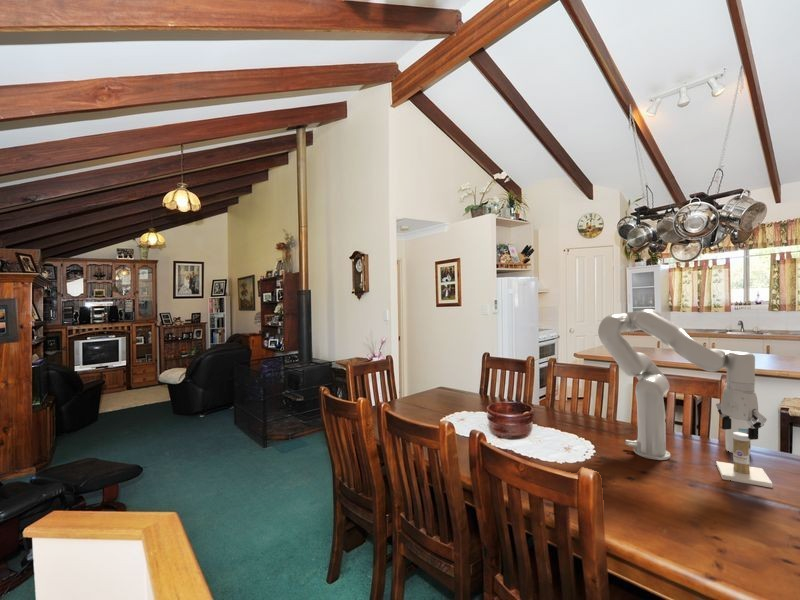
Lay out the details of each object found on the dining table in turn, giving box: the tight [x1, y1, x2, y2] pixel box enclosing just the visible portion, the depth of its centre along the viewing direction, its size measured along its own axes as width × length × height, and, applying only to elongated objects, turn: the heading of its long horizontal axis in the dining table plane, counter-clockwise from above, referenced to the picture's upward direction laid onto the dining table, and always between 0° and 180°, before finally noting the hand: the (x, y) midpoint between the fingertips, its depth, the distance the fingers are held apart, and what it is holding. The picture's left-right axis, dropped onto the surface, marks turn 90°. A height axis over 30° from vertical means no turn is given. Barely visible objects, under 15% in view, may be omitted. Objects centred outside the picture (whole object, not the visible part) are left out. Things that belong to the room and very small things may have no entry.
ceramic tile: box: [715, 460, 774, 489], centre depth 138 cm, size 13×13×2 cm
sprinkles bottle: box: [732, 432, 751, 474], centre depth 138 cm, size 5×5×14 cm
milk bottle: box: [724, 417, 752, 456], centre depth 158 cm, size 8×8×20 cm
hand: (739, 434), depth 138 cm, fingers open, 9 cm apart
